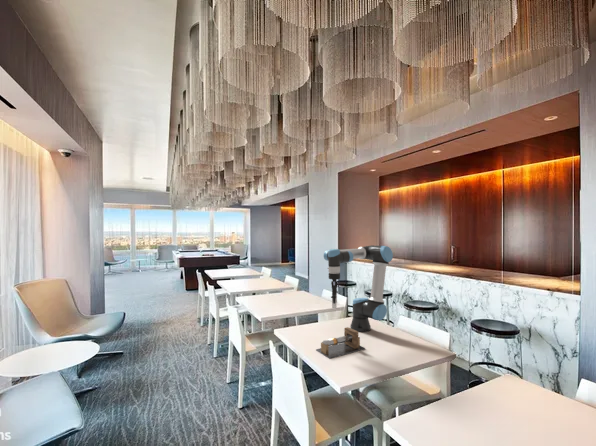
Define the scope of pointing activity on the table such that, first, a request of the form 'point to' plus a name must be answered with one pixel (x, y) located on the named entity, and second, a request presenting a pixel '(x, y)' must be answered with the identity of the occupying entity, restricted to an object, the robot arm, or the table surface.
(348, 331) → the collar
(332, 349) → the pipe rig
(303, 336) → the table surface
